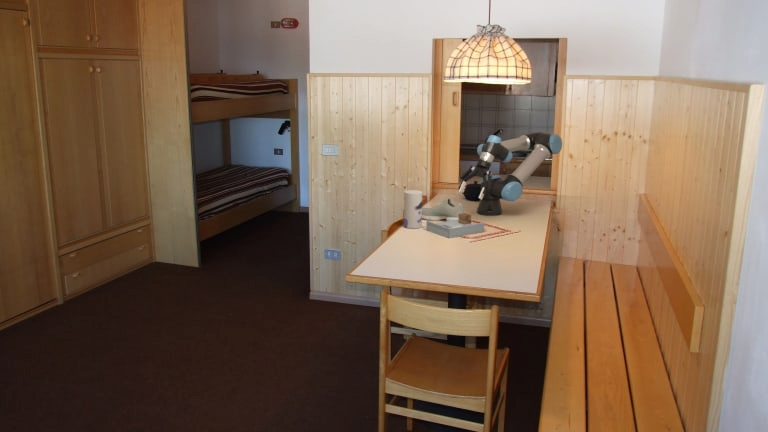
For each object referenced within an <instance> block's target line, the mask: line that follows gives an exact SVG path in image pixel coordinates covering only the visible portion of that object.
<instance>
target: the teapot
mask: <svg viewBox="0 0 768 432" xmlns="http://www.w3.org/2000/svg"><path fill="white" fill-rule="evenodd" d="M478 182H479V181H478V180H474V181H473V183H472V182H471V183H466V185H465V187H464V190H463V192H462V193H461V194H462V195H463V196H464V198H465V199H466V200H469V201H479V202H480V199H479V196H480V193H481V183H478ZM460 187H461V186H460V185H459V186H458V191H459V190H460Z"/></svg>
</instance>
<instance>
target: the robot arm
mask: <svg viewBox="0 0 768 432" xmlns="http://www.w3.org/2000/svg"><path fill="white" fill-rule="evenodd" d="M502 140H503V139H502V138H501V137H500V136H497V135H494V134H491V135H489V137H488V138H487V139H486V142H485V143H481V144H479V145H478V147H477V149H476V152H477V155H478V156H479V159H478V160H477V163H476V165H475V167H474V166H473V165H470V167H469V168H468V170H466V171H465V172H464V173H463V174H462V175H461V176H460V180H461V182H460V185H459V186H461V187H460V190H459V189H458V192H459V193H460V194H462V192H463V193H464V190H465V188H466V187H465V186H467V182H468V181H470V180H471V179H472V178H474V177H477V178H478V177H479V178H481V180H480V184H481V193H480V196H479V199H480V201H479V203H478V207H477V208H476V213H477V214H479V215H484V216H500V215H502V214H503V208H502V204H501V201H500V200H503V201H506V202H515V201H517V200H519V199H520V197H521V196H522V194H523V190H524V189H523V188H524V183H525V182H526V181H527V180H528V179H529V177H530V176H531V175H532V174H533V173H534V172H535V170H537V168H539V167H540V166H541V164H542V163H543V162H544V161H545V159H546V160H548V159H550V158H551V157H552V155H558V154H559V153H561V151H562V147H563V141H562V137H561V136H560V135H559V134H555V133H548V132H541V131H540V132H539V131H538V132H531V133H526V134H523V135H520V136H519V137H515V138H512V139H506V140H503V141H502ZM517 151H531V153H530V154H529V155H527V157H526V158H525V159H524V160H523V161H522V163H520V165H519V166H518V167H517V168H516V169H515V170H514V171H513V172H512V173H510V174H509V173H508V174H507V175H506V176H505V177H504V178H502V175H500V174H499V175H498V174H496V175H495V174H493V172H492V171H491V170H490V168H491V167H492V164H493V161H494V160H499V161H501V162H503V163H504V164H507V163H510V162H511V160H512V159H513V153H512V152H517Z"/></svg>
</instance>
